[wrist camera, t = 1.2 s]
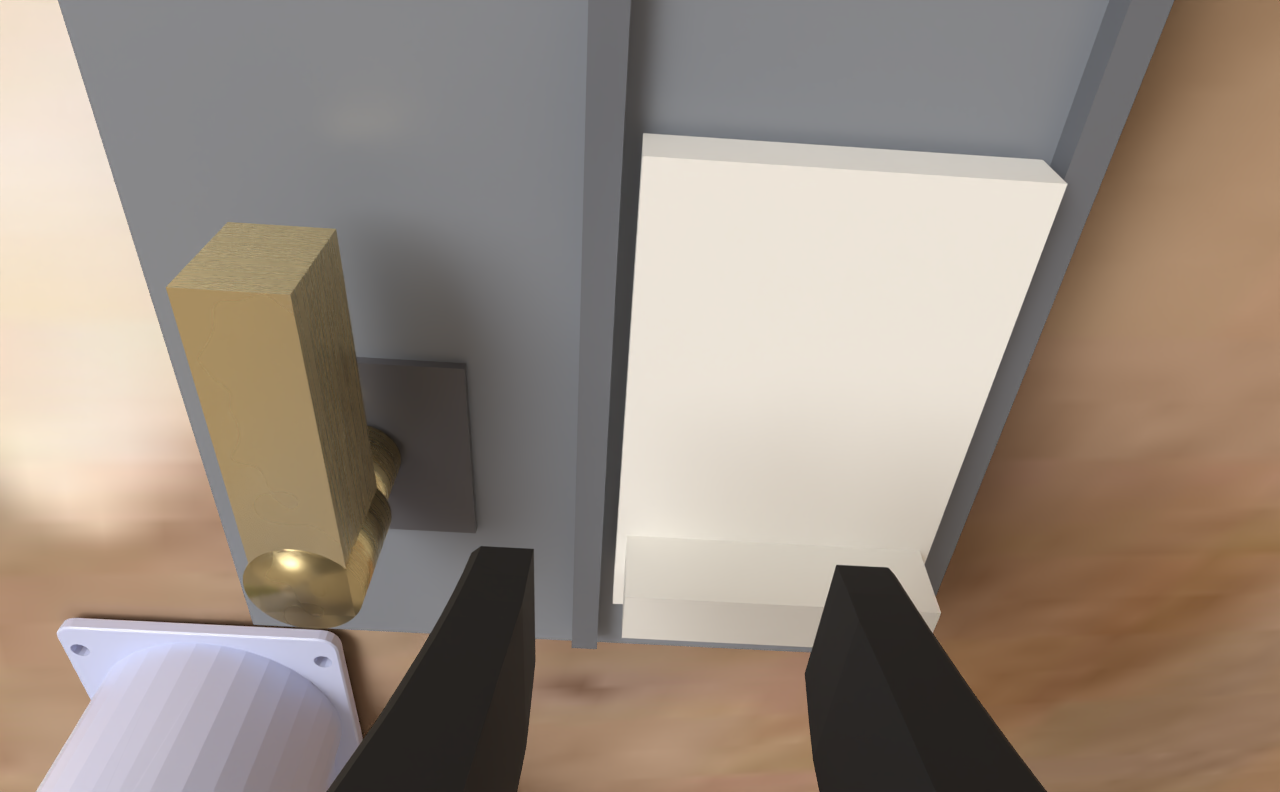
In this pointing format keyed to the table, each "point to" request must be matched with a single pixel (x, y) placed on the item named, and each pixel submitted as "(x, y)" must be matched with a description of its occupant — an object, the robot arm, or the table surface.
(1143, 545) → the table surface
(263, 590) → the key
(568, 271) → the case
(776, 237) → the cover
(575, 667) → the table surface
